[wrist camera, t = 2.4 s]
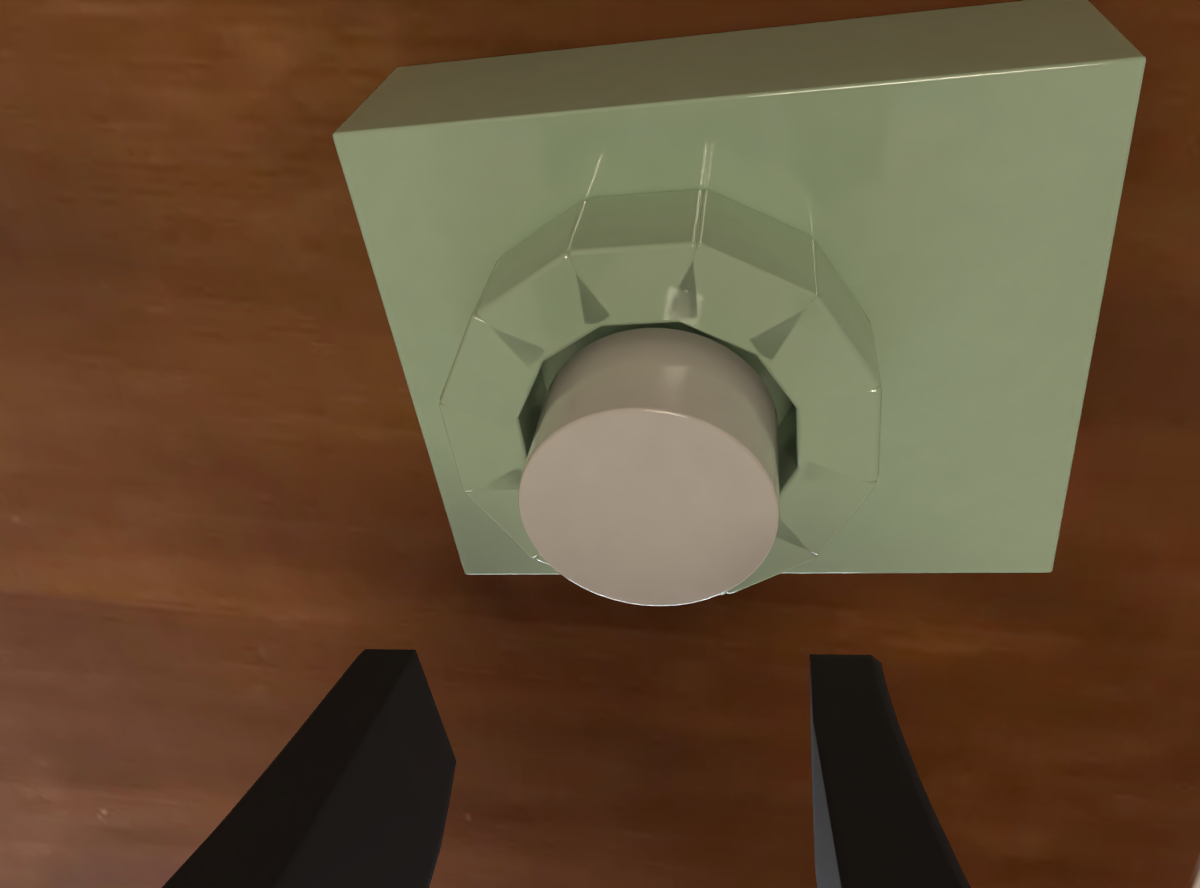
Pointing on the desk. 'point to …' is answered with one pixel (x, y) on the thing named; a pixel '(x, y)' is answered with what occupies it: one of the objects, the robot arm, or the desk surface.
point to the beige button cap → (654, 469)
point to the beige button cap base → (771, 260)
